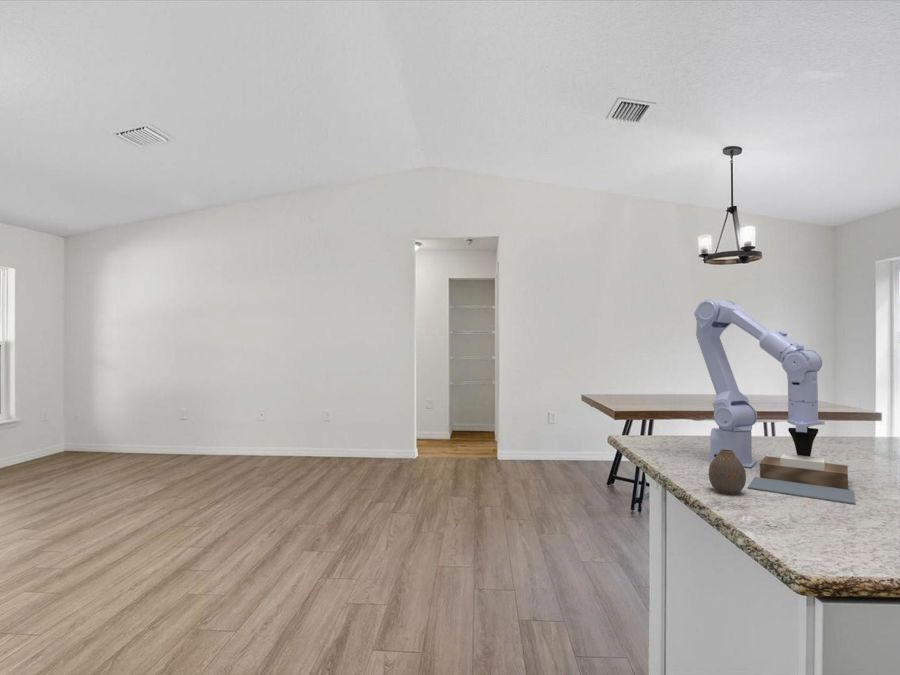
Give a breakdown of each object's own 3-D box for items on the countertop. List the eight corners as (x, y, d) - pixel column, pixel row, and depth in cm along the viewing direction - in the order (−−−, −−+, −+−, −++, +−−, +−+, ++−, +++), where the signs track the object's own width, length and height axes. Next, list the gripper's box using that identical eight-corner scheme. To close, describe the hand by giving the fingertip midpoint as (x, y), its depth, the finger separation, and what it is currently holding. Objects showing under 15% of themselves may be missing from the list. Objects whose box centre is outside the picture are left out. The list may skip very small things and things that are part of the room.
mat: (747, 488, 107) (747, 487, 107) (754, 478, 115) (754, 476, 115) (855, 504, 95) (855, 503, 95) (854, 491, 104) (854, 490, 104)
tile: (780, 465, 113) (780, 457, 113) (782, 461, 117) (782, 453, 117) (824, 471, 108) (824, 462, 108) (825, 465, 112) (824, 458, 113)
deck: (760, 478, 115) (759, 463, 115) (765, 470, 123) (765, 456, 123) (848, 490, 105) (847, 474, 105) (847, 480, 113) (847, 465, 113)
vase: (704, 492, 104) (704, 450, 104) (714, 485, 109) (713, 445, 109) (741, 498, 99) (741, 455, 100) (749, 491, 104) (749, 450, 105)
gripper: (823, 405, 108) (824, 467, 108) (824, 399, 119) (826, 456, 119) (784, 402, 112) (785, 462, 112) (789, 398, 124) (790, 452, 123)
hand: (803, 459), depth 116 cm, fingers closed
